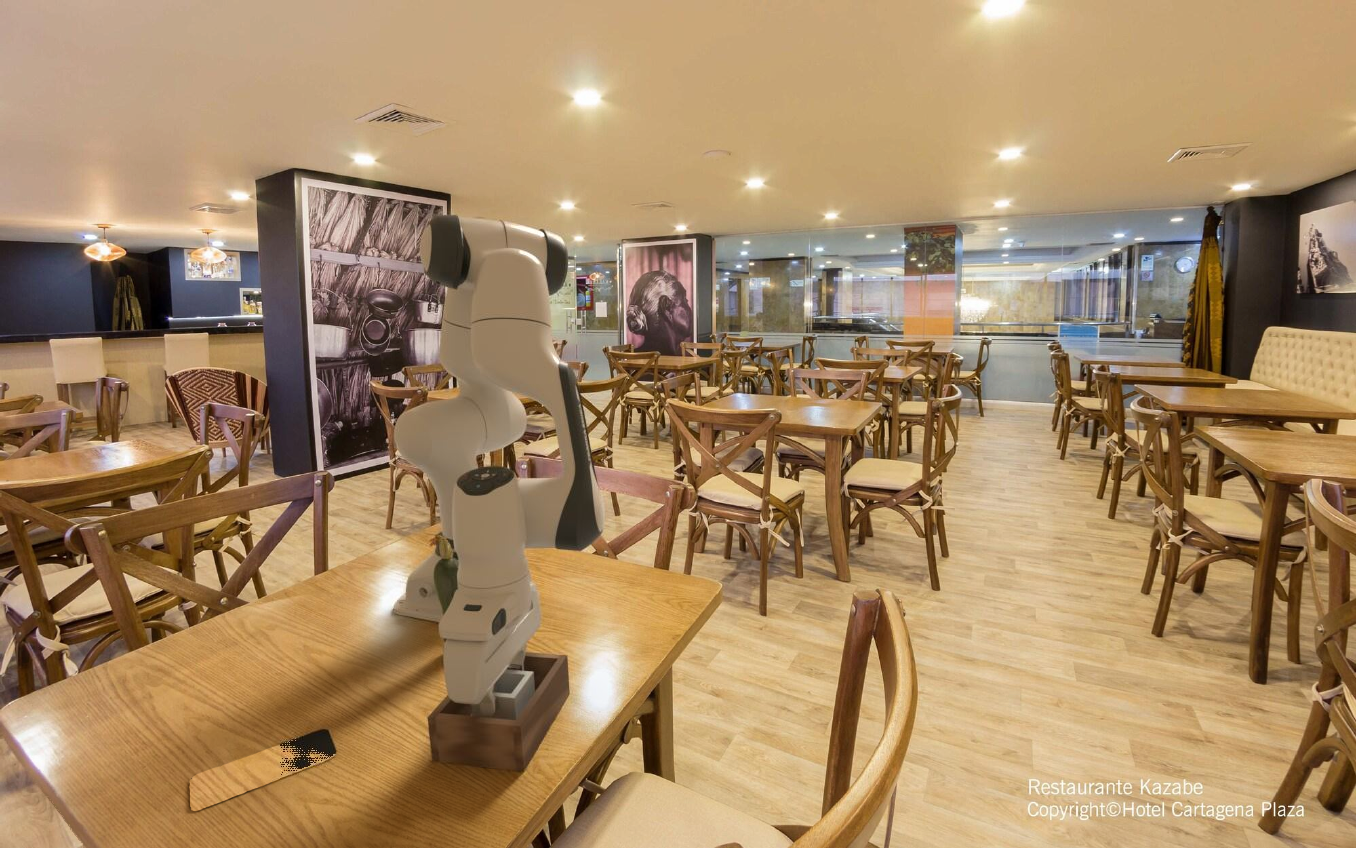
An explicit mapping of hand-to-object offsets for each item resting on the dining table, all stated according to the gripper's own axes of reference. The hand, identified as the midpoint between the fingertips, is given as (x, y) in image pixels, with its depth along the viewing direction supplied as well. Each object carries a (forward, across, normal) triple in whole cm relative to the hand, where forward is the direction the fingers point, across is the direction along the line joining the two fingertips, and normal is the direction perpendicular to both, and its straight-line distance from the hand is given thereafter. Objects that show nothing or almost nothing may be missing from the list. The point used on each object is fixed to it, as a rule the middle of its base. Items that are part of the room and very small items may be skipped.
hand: (503, 693), depth 87 cm
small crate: (+3, 0, 0) cm, 3 cm away
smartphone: (+5, +12, -26) cm, 29 cm away
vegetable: (+5, -16, -16) cm, 23 cm away
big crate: (+5, 0, 0) cm, 5 cm away
